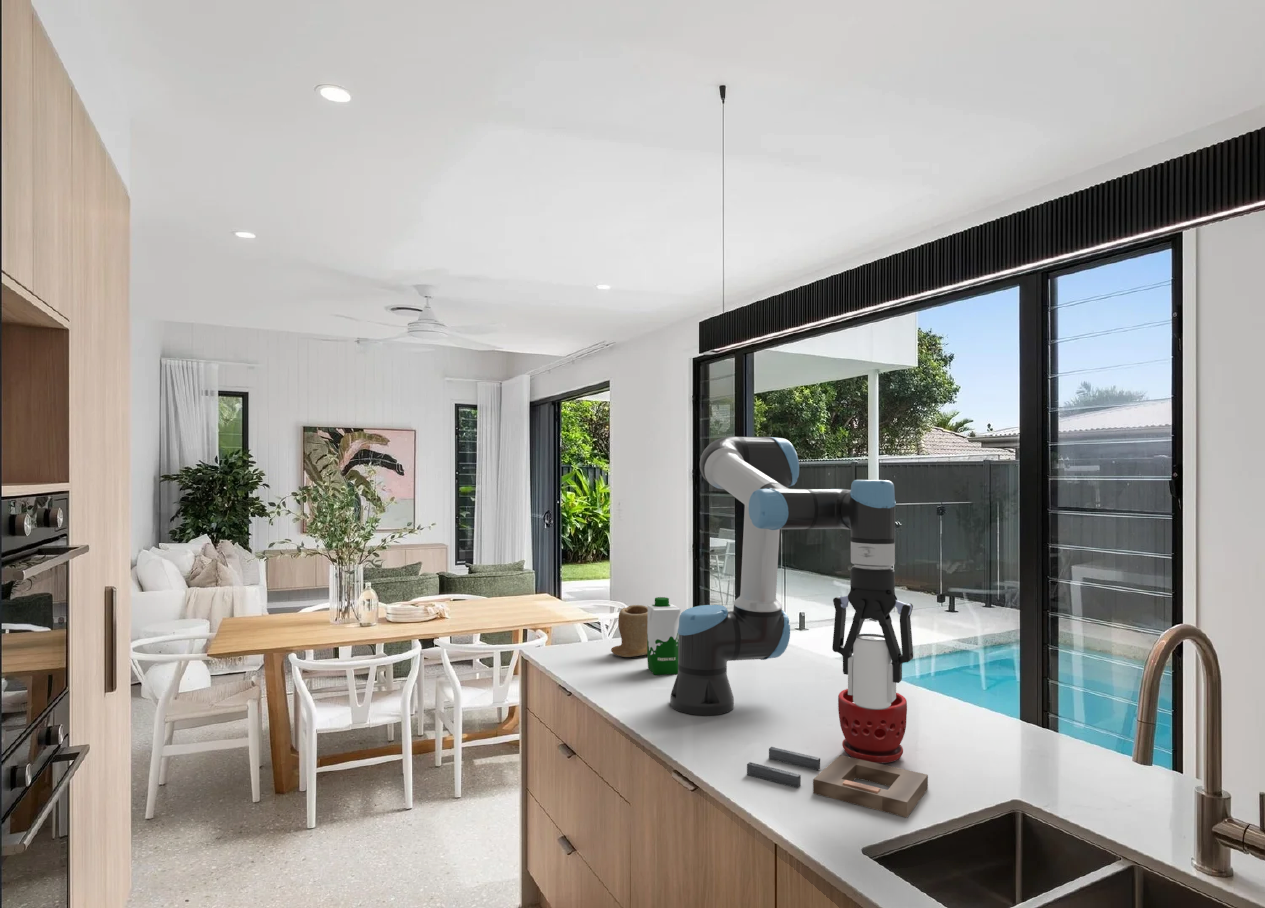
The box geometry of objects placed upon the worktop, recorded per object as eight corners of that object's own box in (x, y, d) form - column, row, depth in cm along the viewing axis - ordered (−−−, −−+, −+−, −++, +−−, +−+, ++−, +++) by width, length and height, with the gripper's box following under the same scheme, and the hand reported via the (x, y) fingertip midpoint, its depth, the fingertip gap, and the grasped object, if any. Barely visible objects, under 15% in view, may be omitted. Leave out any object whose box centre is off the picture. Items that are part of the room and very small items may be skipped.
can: (893, 711, 132) (893, 641, 132) (854, 708, 133) (854, 639, 133) (888, 700, 138) (888, 633, 138) (851, 698, 139) (851, 632, 140)
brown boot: (625, 662, 223) (626, 611, 223) (606, 653, 233) (607, 604, 234) (669, 656, 231) (669, 607, 231) (648, 648, 241) (649, 600, 241)
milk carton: (673, 666, 219) (674, 596, 220) (683, 674, 211) (683, 601, 211) (644, 667, 217) (644, 597, 218) (652, 676, 209) (653, 602, 209)
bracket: (746, 774, 142) (746, 763, 142) (771, 756, 151) (771, 746, 151) (798, 788, 136) (798, 776, 136) (820, 768, 145) (820, 757, 145)
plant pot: (831, 743, 159) (831, 685, 159) (894, 744, 159) (895, 686, 159) (846, 767, 146) (847, 704, 146) (916, 769, 146) (916, 706, 146)
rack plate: (813, 793, 134) (813, 777, 134) (840, 767, 146) (840, 753, 146) (906, 817, 125) (907, 800, 125) (927, 788, 137) (927, 772, 137)
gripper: (812, 563, 139) (812, 692, 138) (923, 573, 128) (922, 712, 127) (827, 560, 145) (826, 682, 144) (934, 568, 134) (933, 701, 133)
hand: (871, 696), depth 136 cm, fingers closed on can, 6 cm apart
